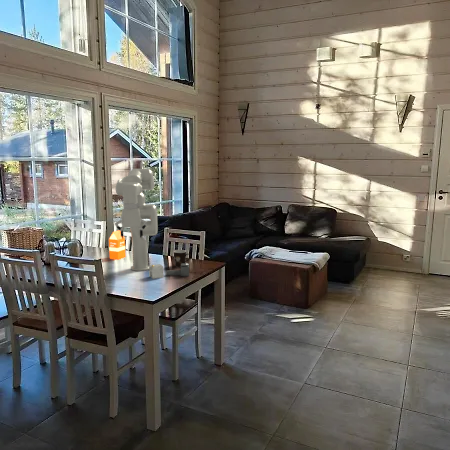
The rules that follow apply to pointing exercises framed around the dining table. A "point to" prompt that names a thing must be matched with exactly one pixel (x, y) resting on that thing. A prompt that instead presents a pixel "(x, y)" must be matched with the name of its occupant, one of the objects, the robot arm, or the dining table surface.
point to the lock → (156, 271)
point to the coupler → (182, 272)
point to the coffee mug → (180, 257)
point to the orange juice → (117, 246)
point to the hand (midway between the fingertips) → (131, 237)
